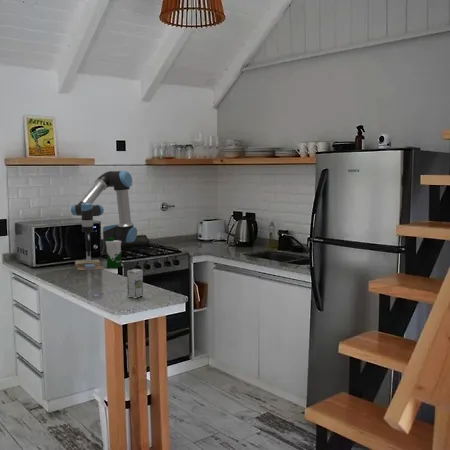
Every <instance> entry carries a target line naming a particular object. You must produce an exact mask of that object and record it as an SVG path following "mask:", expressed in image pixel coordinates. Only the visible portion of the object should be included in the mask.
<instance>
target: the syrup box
mask: <svg viewBox="0 0 450 450" xmlns="http://www.w3.org/2000/svg"><path fill="white" fill-rule="evenodd" d="M126 272H127V273H126V275H127V279H126V280H127V297H128V296H130V297H138V296H141V295H143V296H144V292H143V291H144V283H143V282H144V281H143V280H144V277H143V275H144V272H143V270H142V269H139V268H133V269H129V270H127V271H126Z"/></svg>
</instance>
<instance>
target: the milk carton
mask: <svg viewBox="0 0 450 450" xmlns="http://www.w3.org/2000/svg"><path fill="white" fill-rule="evenodd" d="M121 245H122V242H121V241H118V240H114V238H108V241H106V247H107V256H106V260H107V261H106V268H107V269H119V268H122V248H121V247H122V246H121Z"/></svg>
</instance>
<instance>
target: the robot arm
mask: <svg viewBox="0 0 450 450" xmlns="http://www.w3.org/2000/svg"><path fill="white" fill-rule="evenodd" d="M132 185H133V177H132V175H131V173H130V172H128V171H125V170H115V171H113V170H109V171H106V172H104V173H103V174H101V175H100V176H98V177H97V179H95V181H94V184H93V185H92V187H91V188H90V189H89V190H88V191H87V192H86V194H85V195H84V196H83V197H82V198H81V200H80V201H79V202H78V203H77V204H73V205H72V206H71V207H70V212H71V214H72V216H76V217H77V216H79V217H80V218H81V221H80V223H81V232H82V233H85V234H84V240H85V254H86V256H85V257H86V259H85V260H87V261H91V260H92V255H91V252H92V249H91V248H92V246H91V245H92V243H91V241H92V235H91V233H93V232H94V217H99V216H102V215H103V213H104V211H105V210H104V207H103V206H102V205H101V204H93V203H94V202H95V201H96V200H97V198H98V197H99V196H100V195H101V194H102V193H103V191H105V190H107V188H113V190H114V192H115V193H116V201H117V212H118V221H119V223H118V224H110V225H106V226H103V227H102V242H103V243H102V244H103V247H102V249H101V253H100V254H102V255H107V247H106V241H108V238H114V240H118V241H121V243H127V244H128V243H133V242H135V240H136V239H137V236H138V230H137V227H135V226H134V223H133V222H132V220H131V208H130V207H131V206H130V198H129V190H130V188H131V186H132ZM102 255H101V256H102Z"/></svg>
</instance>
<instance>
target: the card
mask: <svg viewBox="0 0 450 450" xmlns="http://www.w3.org/2000/svg"><path fill="white" fill-rule="evenodd" d="M85 269H95V265H94V264H85Z"/></svg>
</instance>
